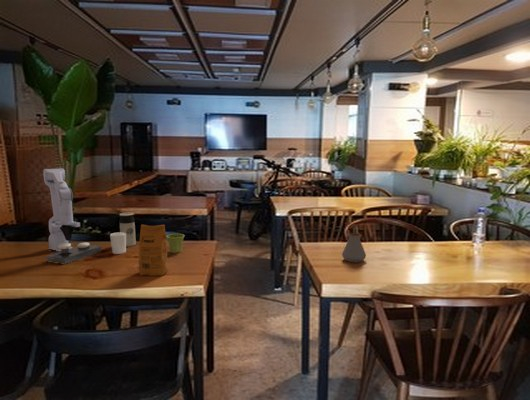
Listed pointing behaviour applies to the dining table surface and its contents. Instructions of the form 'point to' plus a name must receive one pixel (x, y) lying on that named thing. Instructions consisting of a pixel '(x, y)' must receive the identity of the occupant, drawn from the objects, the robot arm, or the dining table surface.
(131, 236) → the travel mug
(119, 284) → the dining table surface
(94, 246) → the knob mount
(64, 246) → the knob
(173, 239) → the plant pot
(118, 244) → the white cup
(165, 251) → the coffee package
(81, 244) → the knob
